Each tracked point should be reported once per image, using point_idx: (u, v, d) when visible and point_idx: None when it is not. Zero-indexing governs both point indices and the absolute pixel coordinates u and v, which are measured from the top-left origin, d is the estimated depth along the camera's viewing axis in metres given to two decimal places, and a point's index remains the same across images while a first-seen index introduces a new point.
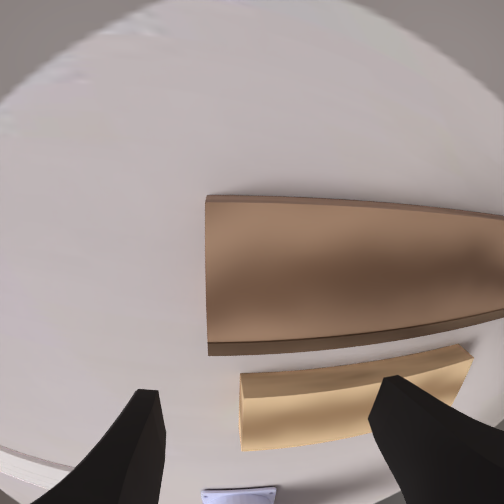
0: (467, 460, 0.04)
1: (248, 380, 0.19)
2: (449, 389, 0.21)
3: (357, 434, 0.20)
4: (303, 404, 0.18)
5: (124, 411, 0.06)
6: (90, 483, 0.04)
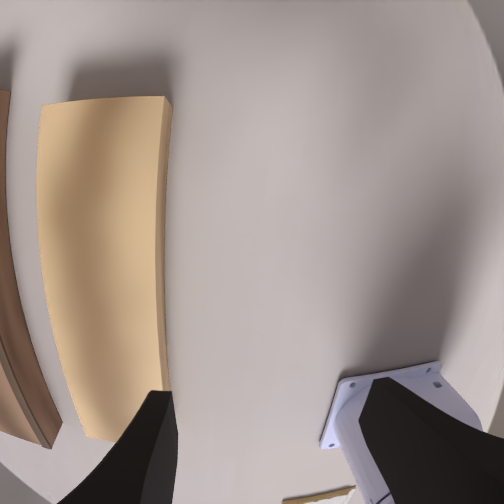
0: (456, 466, 0.04)
1: None
2: (95, 137, 0.11)
3: (153, 333, 0.14)
4: (85, 399, 0.15)
5: (139, 413, 0.06)
6: (109, 487, 0.04)
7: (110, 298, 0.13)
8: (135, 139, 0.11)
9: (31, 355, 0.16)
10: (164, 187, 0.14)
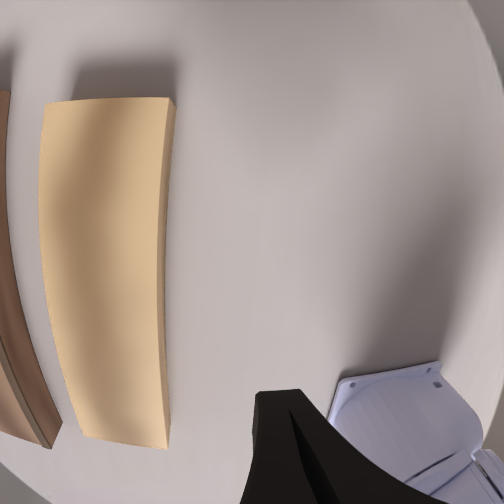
0: None
1: None
2: (98, 137, 0.11)
3: (153, 334, 0.14)
4: (83, 398, 0.14)
5: (263, 415, 0.07)
6: (277, 493, 0.04)
7: (110, 298, 0.13)
8: (139, 140, 0.11)
9: (31, 355, 0.16)
10: (166, 188, 0.14)
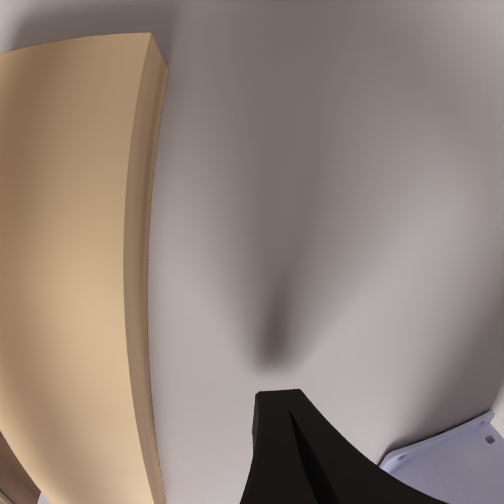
0: None
1: None
2: (13, 121, 0.04)
3: (135, 452, 0.07)
4: (52, 490, 0.08)
5: (263, 415, 0.07)
6: (277, 493, 0.04)
7: (61, 404, 0.06)
8: (83, 121, 0.05)
9: None
10: (145, 217, 0.07)
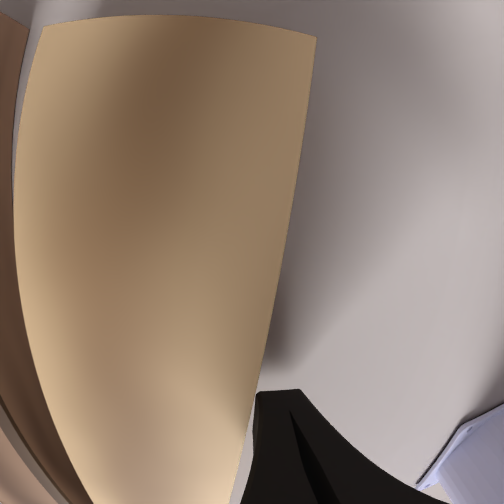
0: None
1: None
2: (154, 91, 0.05)
3: (235, 448, 0.08)
4: (109, 499, 0.08)
5: (263, 415, 0.07)
6: (278, 493, 0.04)
7: (165, 406, 0.07)
8: (253, 107, 0.05)
9: None
10: None
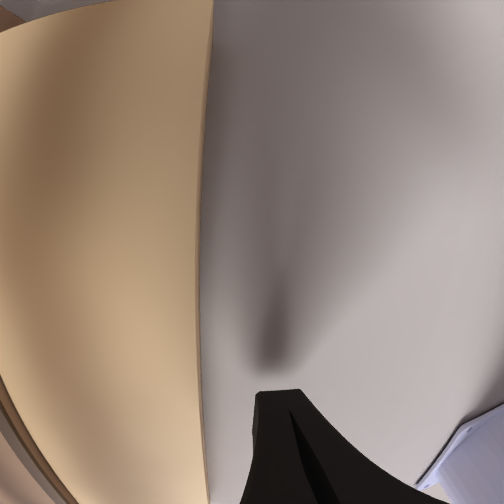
0: None
1: None
2: (59, 80, 0.04)
3: (194, 443, 0.07)
4: (91, 499, 0.08)
5: (263, 415, 0.07)
6: (277, 493, 0.04)
7: (110, 397, 0.06)
8: (148, 75, 0.05)
9: None
10: (201, 183, 0.07)
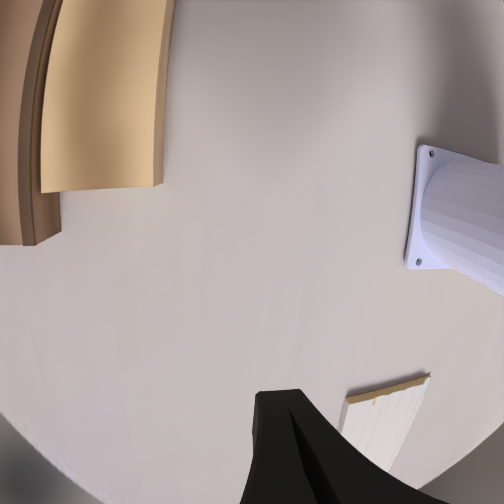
0: None
1: None
2: None
3: (162, 1, 0.10)
4: (58, 110, 0.11)
5: (263, 415, 0.07)
6: (277, 493, 0.04)
7: None
8: None
9: None
10: None
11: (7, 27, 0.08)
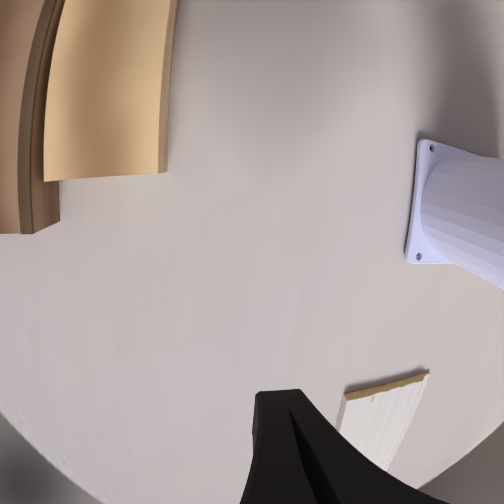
0: None
1: None
2: None
3: None
4: (62, 98, 0.11)
5: (263, 415, 0.07)
6: (277, 493, 0.04)
7: None
8: None
9: None
10: None
11: (11, 17, 0.08)
